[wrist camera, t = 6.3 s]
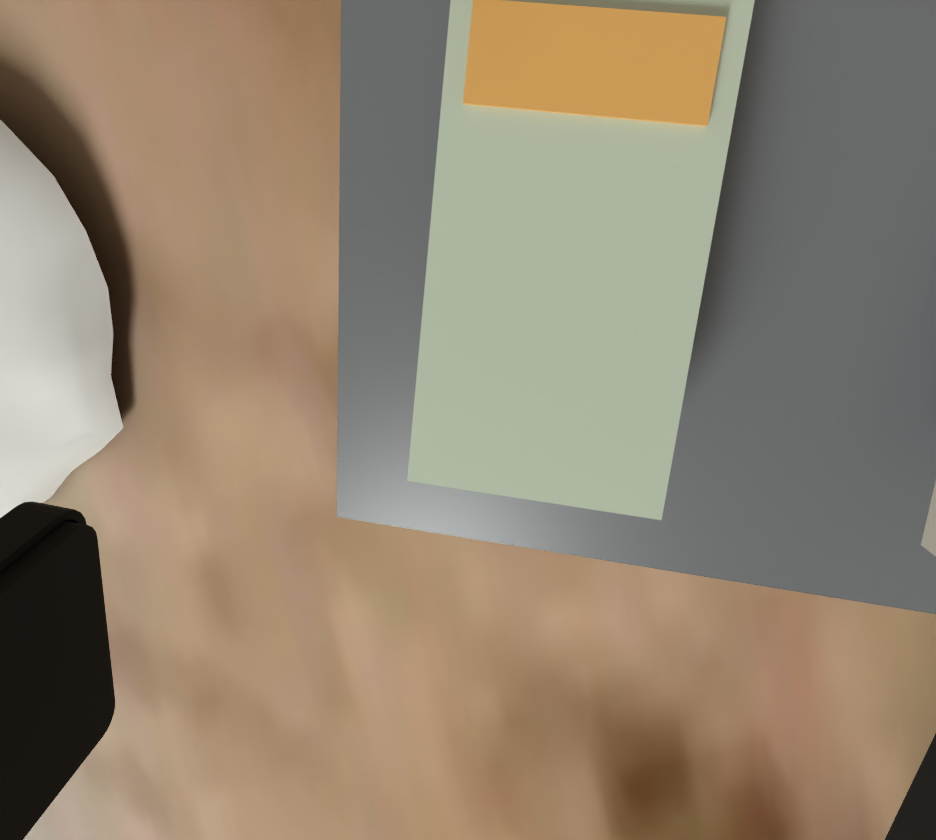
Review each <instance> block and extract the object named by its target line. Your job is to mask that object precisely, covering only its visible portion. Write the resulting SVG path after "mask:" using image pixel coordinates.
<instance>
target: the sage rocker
mask: <svg viewBox="0 0 936 840" xmlns="http://www.w3.org/2000/svg"><path fill="white" fill-rule="evenodd" d="M754 1H755V0H451V1H450V12H449V23H448V34H447V45H446V56H445V67H444V78H443V89H442V100H441V111H440V122H439V133H438V145H437V156H436V167H435V178H434V189H433V200H432V211H431V222H430V233H429V244H428V255H427V266H426V277H425V288H424V299H423V310H422V321H421V332H420V343H419V354H418V365H417V376H416V387H415V398H414V410H413V421H412V432H411V443H410V454H409V465H408V476H407V481H410V482H417V483H423V484H430V485H436V486H443V487H449V488H456V489H462V490H468V491H475V492H481V493H488V494H494V495H501V496H507V497H514V498H520V499H527V500H533V501H540V502H546V503H553V504H559V505H566V506H572V507H578V508H585V509H591V510H598V511H604V512H611V513H617V514H624V515H630V516H637V517H643V518H650V519H656V520H662V515H663V509H664V504H665V498H666V493H667V487H668V482H669V476H670V470H671V465H672V459H673V454H674V448H675V442H676V437H677V431H678V426H679V420H680V415H681V409H682V403H683V398H684V392H685V387H686V381H687V375H688V370H689V364H690V359H691V353H692V348H693V342H694V336H695V331H696V325H697V320H698V314H699V308H700V303H701V297H702V292H703V286H704V281H705V275H706V269H707V264H708V258H709V253H710V247H711V242H712V236H713V230H714V225H715V219H716V214H717V208H718V202H719V197H720V191H721V186H722V180H723V175H724V169H725V163H726V158H727V152H728V147H729V141H730V135H731V130H732V124H733V119H734V113H735V108H736V102H737V96H738V91H739V85H740V80H741V74H742V68H743V63H744V57H745V52H746V46H747V41H748V35H749V29H750V24H751V18H752V13H753V7H754Z"/></svg>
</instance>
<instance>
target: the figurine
mask: <svg viewBox="0 0 936 840" xmlns="http://www.w3.org/2000/svg"><path fill="white" fill-rule="evenodd" d="M112 349H113V326H112V317H111V309H110V301H109V292H108V286H107V284H106V281H105V279H104V276H103V274H102V271H101V268H100V266H99V263H98V261H97V258H96V256H95V253H94V250H93V248H92V245H91V243H90V240H89V237H88V235H87V232H86V230H85V228H84V227H83V225H82V223H81V222H80V220H79V218H78V216H77V215H76V213H75V211H74V210H73V208H72V206H71V204H70V203H69V201H68V199H67V198H66V196H65V194H64V192H63V191H62V189H61V187H60V186H59V184H58V182H57V181H56V179H55V177H54V176H53V175H52V173H51V172H50V171H49V170H48V169H47V168H46V167H45V166H44V165H43V164H42V163H41V162H40V161H39V160H38V159H37V158H36V157H35V156H34V154H33V153H32V152H31V151H30V150H29V149H28V148H27V147H26V146H25V145H24V144H23V143H22V142H21V141H20V140H19V139H18V138H17V136H16V135H15V134H14V133H13V132H12V131H11V130H10V129H9V128H8V127H7V126H6V125H5V124H4V123H3V122H2V121H1V120H0V518H1V517H2V516H4V515H5V514H6V513H8V512H9V511H11V510H12V509H13V508H15V507H16V506H18V505H20V504H22V503H24V502H38V503H42V502H44V501H46V500H47V499H49V498H51V496H52V495H53V494H54V493H55V491H56V490H57V489H58V488H59V486H60V485H61V484H62V483H63V481H64V480H65V479H66V478H67V476H68V475H69V474H70V473H71V471H72V470H74V469H75V468H77V467H78V466H79V465H81V464H82V463H84V462H85V461H86V460H88V459H89V458H91V457H92V456H93V455H95V454H96V453H98V452H99V451H101V450H102V449H103V448H104V447H105V446H106V445H107V444H108V443H109V442H110V441H111V440H112V439H113V438H114V437H115V436H116V435H117V434H118V433H119V432H120V431H121V430H122V429H123V425H122V420H121V416H120V412H119V408H118V404H117V399H116V395H115V391H114V387H113V383H112V378H111V365H112Z"/></svg>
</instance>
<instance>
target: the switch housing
mask: <svg viewBox="0 0 936 840" xmlns="http://www.w3.org/2000/svg"><path fill="white" fill-rule="evenodd" d="M450 1H451V0H341V91H340V212H339V333H338V454H337V517H341V518H347V519H353V520H359V521H366V522H372V523H378V524H384V525H390V526H396V527H403V528H409V529H415V530H421V531H427V532H433V533H439V534H446V535H452V536H458V537H464V538H470V539H476V540H483V541H489V542H495V543H501V544H507V545H513V546H520V547H526V548H532V549H538V550H544V551H550V552H556V553H563V554H569V555H575V556H581V557H587V558H593V559H600V560H606V561H612V562H618V563H624V564H630V565H637V566H643V567H649V568H655V569H661V570H667V571H673V572H680V573H686V574H692V575H698V576H704V577H710V578H717V579H723V580H729V581H735V582H741V583H747V584H754V585H760V586H766V587H772V588H778V589H784V590H790V591H797V592H803V593H809V594H815V595H821V596H827V597H834V598H840V599H846V600H852V601H858V602H864V603H871V604H877V605H883V606H889V607H895V608H901V609H907V610H914V611H920V612H926V613H932V614H936V556H934V555H933V554H932V553H930V552H929V551H928V550H927V549H925V548H924V547H923V546H922V545H921V542H922V537H923V533H924V529H925V524H926V520H927V516H928V512H929V507H930V503H931V499H932V494H933V490H934V486H935V482H936V0H755V1H754V7H753V13H752V18H751V24H750V29H749V35H748V41H747V46H746V52H745V57H744V63H743V68H742V74H741V80H740V85H739V91H738V96H737V102H736V108H735V113H734V119H733V124H732V130H731V135H730V141H729V147H728V152H727V158H726V163H725V169H724V175H723V180H722V186H721V191H720V197H719V202H718V208H717V214H716V219H715V225H714V230H713V236H712V242H711V247H710V253H709V258H708V264H707V269H706V275H705V281H704V286H703V292H702V297H701V303H700V308H699V314H698V320H697V325H696V331H695V336H694V342H693V348H692V353H691V359H690V364H689V370H688V375H687V381H686V387H685V392H684V398H683V403H682V409H681V415H680V420H679V426H678V431H677V437H676V442H675V448H674V454H673V459H672V465H671V470H670V476H669V482H668V487H667V493H666V498H665V504H664V509H663V515H662V520H656V519H650V518H643V517H637V516H630V515H624V514H617V513H611V512H604V511H598V510H591V509H585V508H578V507H572V506H566V505H559V504H553V503H546V502H540V501H533V500H527V499H520V498H514V497H507V496H501V495H494V494H488V493H481V492H475V491H468V490H462V489H456V488H449V487H443V486H436V485H430V484H423V483H417V482H410V481H407V476H408V465H409V454H410V443H411V432H412V421H413V410H414V398H415V387H416V376H417V365H418V354H419V343H420V332H421V321H422V310H423V299H424V288H425V277H426V266H427V255H428V244H429V233H430V222H431V211H432V200H433V189H434V178H435V167H436V156H437V145H438V133H439V122H440V111H441V100H442V89H443V78H444V67H445V56H446V45H447V34H448V23H449V12H450Z"/></svg>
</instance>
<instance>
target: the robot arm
mask: <svg viewBox="0 0 936 840" xmlns="http://www.w3.org/2000/svg"><path fill="white" fill-rule="evenodd" d="M114 709H115V696H114V687H113V677H112V668H111V659H110V650H109V641H108V632H107V623H106V613H105V604H104V595H103V586H102V577H101V568H100V558H99V549H98V540H97V535H96V532H95V530H94V529H93V527H90V526H88V525H86V521H85V518H84V517H83V515H82V514H81V513H80V512H78V511H76V510H73V509H68V508H63V507H58V506H53V505H48V504H43V503H38V502H24V503H22V504H20V505H18V506H16V507H15V508H13V509H12V510H11V511H9V512H8V513H6V514H5V515H4V516H2V517H1V518H0V840H23V839H24V837H25V836H26V835H27V834H28V832H29V831H30V830H31V828H32V827H33V826H34V825H35V823H36V822H37V821H38V819H39V818H40V817H41V816H42V814H43V813H44V812H45V810H46V809H47V808H48V806H49V805H50V804H51V803H52V801H53V800H54V799H55V797H56V796H57V795H58V794H59V792H60V791H61V790H62V788H63V787H64V786H65V785H66V783H67V782H68V781H69V779H70V778H71V777H72V776H73V774H74V773H75V772H76V770H77V769H78V768H79V766H80V765H81V764H82V763H83V761H84V760H85V759H86V757H87V756H88V755H89V754H90V752H91V751H92V750H93V748H94V747H95V746H96V745H97V743H98V742H99V741H100V739H101V738H102V737H103V735H104V734H105V732H106V731H107V729H108V727H109V725H110V723H111V720H112V717H113V714H114ZM885 840H936V734H935V736H934V738H933V740H932V742H931V744H930V747H929V749H928V751H927V753H926V755H925V757H924V759H923V761H922V763H921V765H920V767H919V770H918V772H917V774H916V776H915V778H914V780H913V782H912V784H911V786H910V788H909V790H908V792H907V795H906V797H905V799H904V801H903V803H902V805H901V807H900V809H899V811H898V813H897V815H896V817H895V820H894V822H893V824H892V826H891V828H890V830H889V832H888V834H887V836H886V838H885Z"/></svg>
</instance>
